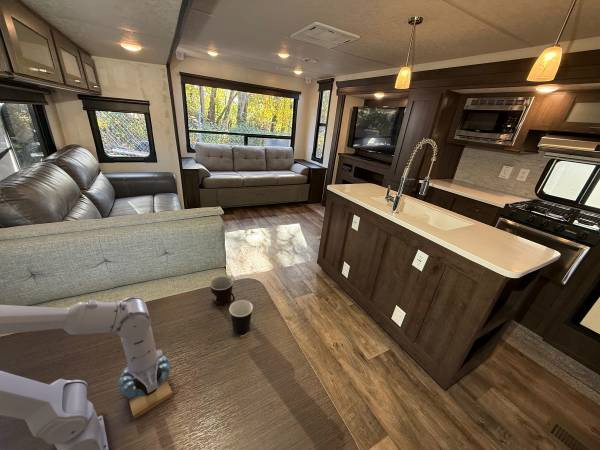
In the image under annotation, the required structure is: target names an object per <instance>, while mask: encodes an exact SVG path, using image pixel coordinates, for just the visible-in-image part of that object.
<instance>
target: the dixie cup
mask: <svg viewBox="0 0 600 450" xmlns="http://www.w3.org/2000/svg"><path fill="white" fill-rule="evenodd" d="M253 310H254V305H253V303H252V302H251V301H249V300H245V299H240V300H235V301H233V302H231V303H230V306H229V308H228V311H229V314H230V319H231V323H232V329H233V330H232V331H233V333H234V334H236V335H238V336H239V338H243V337H245V336H247V335H248V334H249V331H250V326H251V319H252V313H253Z"/></svg>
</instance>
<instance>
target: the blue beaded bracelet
mask: <svg viewBox="0 0 600 450" xmlns="http://www.w3.org/2000/svg"><path fill="white" fill-rule="evenodd" d="M169 361H170V360H168V357H167V356H165V355H163V357H161V358H159V360H158V368H159V367H161V370H162V376H161V377H160V379H159V381H158V388H159V387H160V386H161V384H162V383H163V382H164V381H165V380H166V379H167V378H168V376H169V373H170V369H171V364H170V362H169ZM133 379H135V377H134V376H133V375H132V374H130V373H129V371H128V365H127V366H126V367H124V369H123V370H122V372H121V374H120V376H119V378H118V381H117V384H118V389H119V393H121V395H123V396H125V397H127V398H129V399H130V398H136V397H143V396H146V395H145V393H144V392H143V391H142V390H140V389H136V388H135V386H134V383H133ZM158 388H157V389H158Z"/></svg>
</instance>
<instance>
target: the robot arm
mask: <svg viewBox="0 0 600 450" xmlns="http://www.w3.org/2000/svg"><path fill="white" fill-rule="evenodd" d="M152 321H153V320H152V319H151V316H150V313H149V310H148V306H147V303H146V302H145V300H144V299H143V298H141V297H138V296H137V297H136V296H128V297H126V298H123V299H122V300H117V301H112V302H111V301H109V302H107V301H105V302H103V301H98V300H96V299H90V300H88V301H78V302H77V303H75V304H73V305H72V306H69V307H49V306H31V305H29V306H28V305H13V304H12V305H11V304H0V335H9V334H18V333H19V334H20V333H30V332H40V331H50V330H61V329H62V330H64V331H65V332H66V333H67V334H68V335H70V336H75V335H92V334H110V333H112V334H113V333H116V334H117V336H119V337H120V341H121V345H122V349H123V352H124V355H125V360H126V363H127V366H128V371H129V373H130V374H132V375H133V376H134V378H133V383H134V386H135V388H136V389H140V390H142V391H143V392H144V393H145V395H146V396H149V395H150V394H152V393H154V392H156V390H157V388H158V381H159V379H160V377H161V376H162V370H161V367H159V368H158V360H159V358H161V357H163V356H164V354H163V351H162V349H158V350H157V349H156V348H157V347H156V343H155V337H154V333H153V329H152ZM88 387H89V385H88V383H87V382H86V381H85V380H82V379H73V380H71V379H70V380H67V379H64V378H59V379H57V380H54V381H53V382H51V383H50V384H49V383H46V382H45V383H44V382H41V381H38V380H34V379H31V378H27V377H23V376H20V375H17V374H13V373H11V372H6V371H3V370H0V416H2V417H8V418H13V419H19V420H24V421H25V423H26V424H27V426H28V429H29V431H30V434H31V435H32V436H33V437H34V438H40V439H42V440H43V441H44V443H46V444H48V445H54V447H55V448H56V450H109V449H110V448H109V443H108V438H107V432H106V426H105V421H104V416H103V415H99V416H98V415H97V414H98V413H97V412H96V409H95V406H94V404H93V403H92V402H91V401H90V400H89V399H88Z"/></svg>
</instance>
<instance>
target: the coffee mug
mask: <svg viewBox="0 0 600 450" xmlns="http://www.w3.org/2000/svg"><path fill="white" fill-rule="evenodd" d="M209 285H210V286H209V287H210V291H211V296H212V301H213V303H214V305H216V306H217V307H218V306H219V307H224V306H227V305H228V304H229V305H231V304H232V303H234V302H235V301H236V298H235V295H234V293H233V285H234V280H233V279H232V278H231V277H229V276H226V275H225V276H223V275H222V276H217V277H215V278H212V280H210V283H209Z"/></svg>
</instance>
